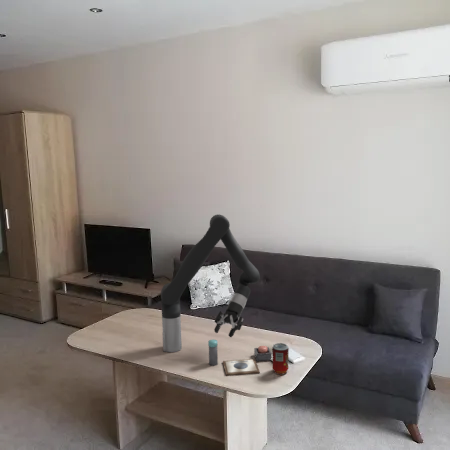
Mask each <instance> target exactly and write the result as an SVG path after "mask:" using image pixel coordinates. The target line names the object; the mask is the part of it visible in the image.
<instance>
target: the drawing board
mask: <svg viewBox="0 0 450 450" xmlns="http://www.w3.org/2000/svg"><path fill="white" fill-rule="evenodd" d="M222 363H223V364H222V365H223V369H224V372H225V376H226V377H228V376H241V375H243V376H244V375H256V374H257V375H258V374H261V372H260V369H259V367H258V365H257V360H256V358H250V359H249V358H248V359H245V358H244V359H233V360H223V361H222Z"/></svg>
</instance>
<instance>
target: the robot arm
mask: <svg viewBox="0 0 450 450" xmlns="http://www.w3.org/2000/svg"><path fill="white" fill-rule="evenodd" d="M228 219H229V218H227V217H226V216H225V215H222V214H215V215H212V217H211V218H210V220H209V227H208V229H207V231H206V232H205V234H204V235H203V237H202V238H201V239H200V240H199V241H198V242H196V243H195V245H193V246H192V247H191V249H190V250H189V252H188V253H187V254H186V256H185V257H184V259H183V260H182V262H181V264H180V266H179V268H178V271H177V272H176V274H175V276H174V278H173V279H172V280H171V282H168V283H165V284H164V285H163V286H162V288H161V291H160V298H161V320H162V322H161V323H162V328H161V329H162V332H161V333H162V351H163V352H167V353H176V352H178V351H181V350H182V347H183V346H182V320H181V319H182V318H181V316H182V315H181V300H180V299H181V296H182V294H183V293H184V291H185V290H186V288H187V286H188V284H189V283H190V282H191V281H192V280H193V279H194V277H195V276H196V275H197V273H198V272H199V271H200V269H201V268H202V267H203V265H204V264H205V262H206V261H207V260H208V258H209V256H210V255H211V254H212V252H213V250H214V248H215V247H216V245H217V244H218V243H219V242H220V241H221V242H222V243H223V245H224V247H225V250H226V251H227V252H228V255H229V256H230V259H231V260H232V261H233V263H234V265H235V267H236V269H238V270H240V271H242V272H241V273H240V275H239V278H238V283H237V287H236V290H235V291H234V293H233V295H232V297H231V299H230V300H229V303H228V305H227V307H226V310H225V312H224V313H223V312H222V311H219V312H218V314H217V316H216V318H214V319H215V320H214V323H215V324H216V325H215V326H214V329H213V330H214V333H216V334H218V333H219V331H220V329H221V327H222V326H223V325H225V324H229V325H231V328H230V329H229V332H228V337H229V338H232V337H233V336H234V334H235V333H236V331H240V330H241V329H242V326H243V323H244V320H245V319H244V318H243V316H241V315H242V313H243V311H244V309H245V306H246V304H247V301H248V299H249V297H250V294H251V292H252V289H251V288H250V287H249V286H250V285H251V284H257V283H259V281H260V280H261V275H260V271H259V269H258V268H257V267H256V266H255V265H254V264H253V263H252V262H251V261H250V260H249V258H248V257H247V255H246V253H245V251H244V250H243V248H242V247H241V246H240V244H239V243H238V242H237V240H236V238H235V237H234V235H233V233H232V231H231V229H230V221H229V220H228Z"/></svg>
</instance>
